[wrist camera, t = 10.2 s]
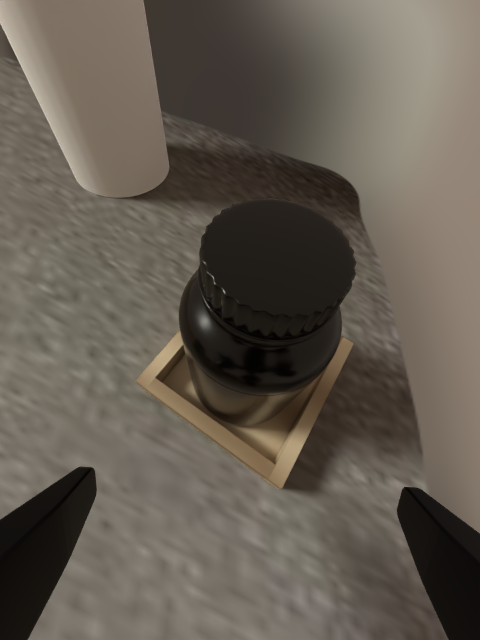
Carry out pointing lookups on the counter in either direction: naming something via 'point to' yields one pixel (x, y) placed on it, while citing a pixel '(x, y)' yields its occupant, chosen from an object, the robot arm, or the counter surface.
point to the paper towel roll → (94, 88)
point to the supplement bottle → (264, 307)
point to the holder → (240, 441)
